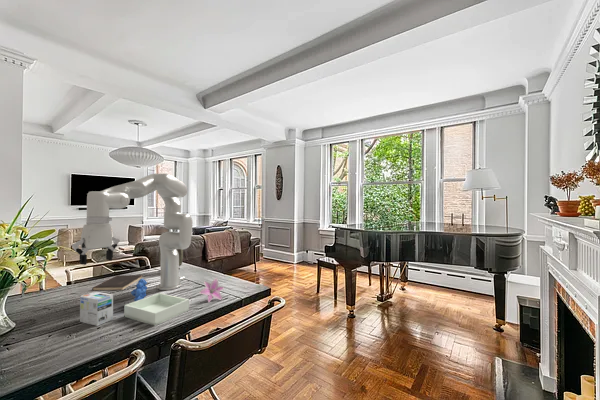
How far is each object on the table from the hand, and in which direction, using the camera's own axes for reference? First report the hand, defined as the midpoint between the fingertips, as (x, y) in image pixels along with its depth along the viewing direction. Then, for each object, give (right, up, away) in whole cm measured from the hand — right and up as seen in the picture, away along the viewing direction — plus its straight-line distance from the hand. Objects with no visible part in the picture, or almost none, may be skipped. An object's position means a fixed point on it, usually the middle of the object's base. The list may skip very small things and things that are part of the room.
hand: (96, 262), depth 113 cm
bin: (+22, -25, +7) cm, 33 cm away
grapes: (+7, -24, +17) cm, 31 cm away
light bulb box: (0, -24, -1) cm, 24 cm away
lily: (+40, -25, +25) cm, 53 cm away
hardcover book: (-22, -25, +48) cm, 59 cm away
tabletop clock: (-5, -24, +75) cm, 79 cm away
